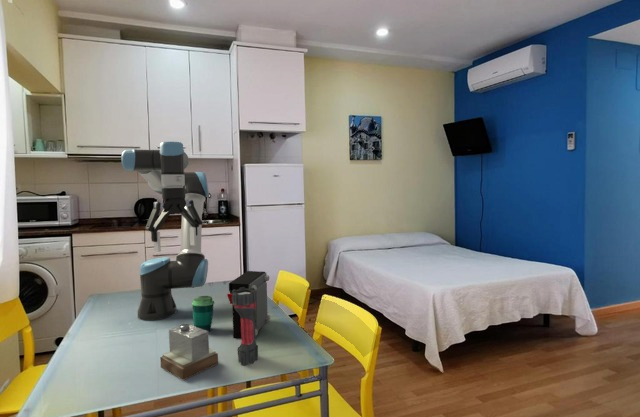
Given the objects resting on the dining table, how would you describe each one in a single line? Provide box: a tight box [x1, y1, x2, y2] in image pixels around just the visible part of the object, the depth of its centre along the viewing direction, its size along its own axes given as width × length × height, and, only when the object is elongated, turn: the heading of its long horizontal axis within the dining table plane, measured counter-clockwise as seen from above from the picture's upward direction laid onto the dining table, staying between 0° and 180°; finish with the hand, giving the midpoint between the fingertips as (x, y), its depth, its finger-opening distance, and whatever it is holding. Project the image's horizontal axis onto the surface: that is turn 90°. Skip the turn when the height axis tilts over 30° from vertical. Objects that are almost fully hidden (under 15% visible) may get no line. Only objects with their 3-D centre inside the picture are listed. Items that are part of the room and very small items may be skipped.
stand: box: [160, 347, 219, 381], centre depth 116 cm, size 12×12×4 cm
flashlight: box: [231, 287, 259, 366], centre depth 117 cm, size 8×8×23 cm
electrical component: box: [226, 270, 271, 340], centre depth 142 cm, size 18×10×20 cm, turn 168°
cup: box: [191, 295, 215, 333], centre depth 143 cm, size 8×8×12 cm
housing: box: [168, 323, 210, 361], centre depth 115 cm, size 6×11×8 cm, turn 55°
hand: (176, 248), depth 133 cm, fingers open, 13 cm apart
